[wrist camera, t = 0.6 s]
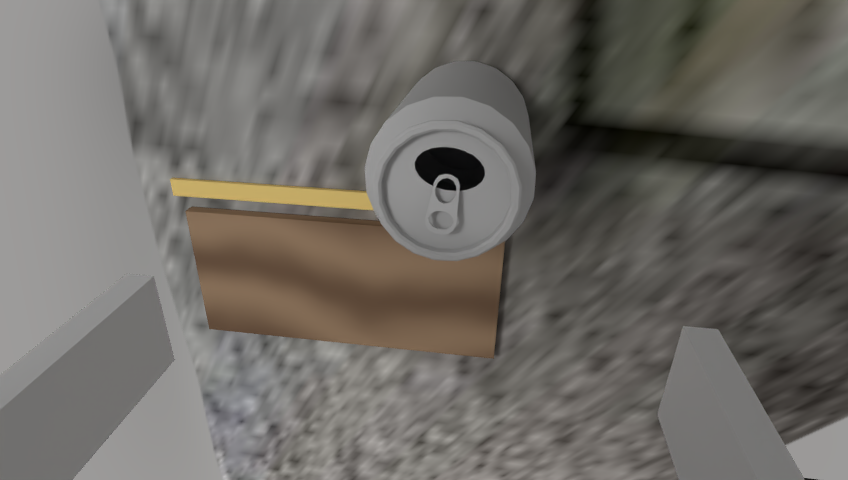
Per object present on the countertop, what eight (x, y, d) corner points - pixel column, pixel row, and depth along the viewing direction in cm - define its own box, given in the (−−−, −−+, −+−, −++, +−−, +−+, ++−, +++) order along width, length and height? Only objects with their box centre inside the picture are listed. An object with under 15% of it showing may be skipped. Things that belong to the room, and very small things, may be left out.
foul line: (172, 177, 37) (170, 179, 37) (524, 202, 34) (524, 204, 34) (175, 193, 37) (173, 195, 37) (522, 219, 35) (522, 221, 34)
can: (541, 69, 30) (558, 123, 20) (514, 190, 34) (516, 291, 23) (412, 48, 31) (361, 90, 20) (398, 169, 34) (348, 259, 24)
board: (191, 206, 38) (185, 211, 37) (505, 230, 35) (505, 235, 34) (214, 322, 42) (209, 328, 42) (493, 351, 40) (493, 358, 39)
